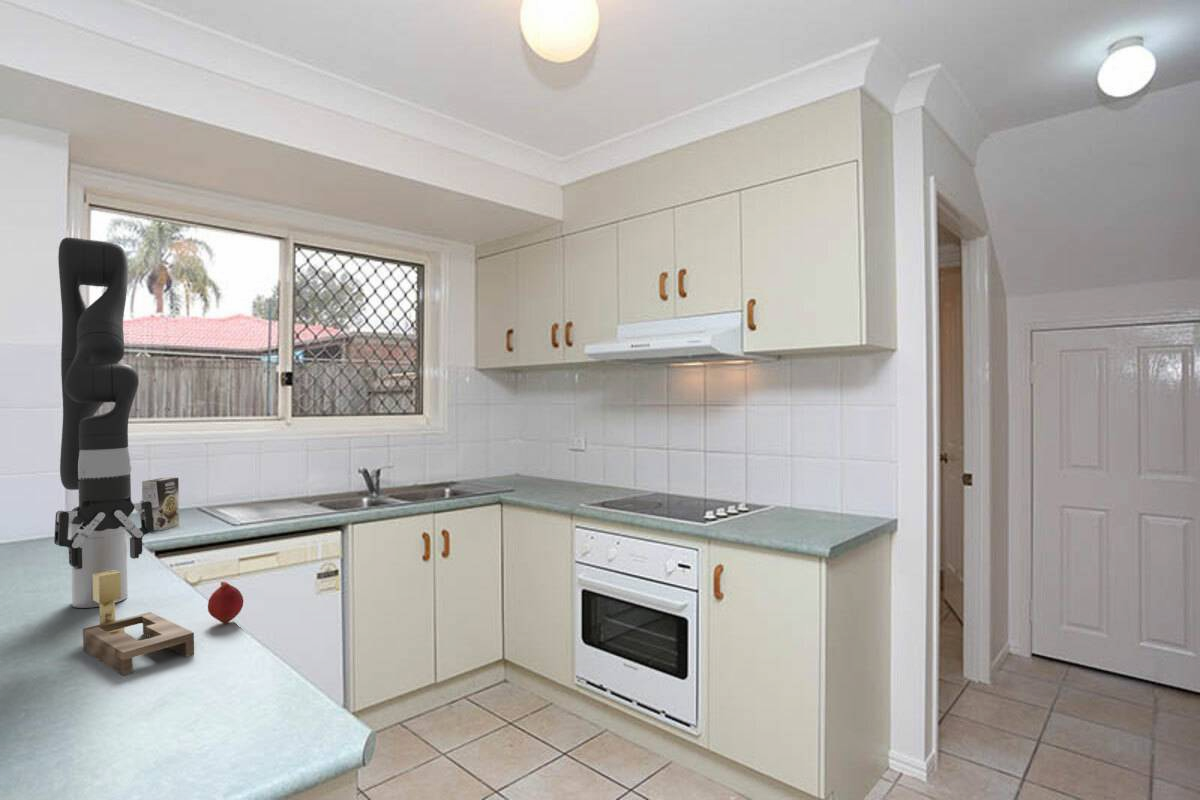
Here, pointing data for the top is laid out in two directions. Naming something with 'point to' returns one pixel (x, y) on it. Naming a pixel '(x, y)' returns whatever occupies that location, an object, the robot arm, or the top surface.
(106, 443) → the robot arm
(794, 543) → the top surface
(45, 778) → the top surface
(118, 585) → the keyhole peg
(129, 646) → the keyhole plate
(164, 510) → the coffee box
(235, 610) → the onion
